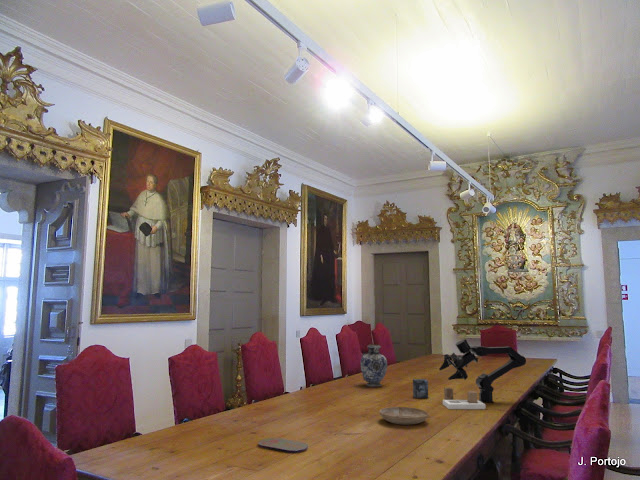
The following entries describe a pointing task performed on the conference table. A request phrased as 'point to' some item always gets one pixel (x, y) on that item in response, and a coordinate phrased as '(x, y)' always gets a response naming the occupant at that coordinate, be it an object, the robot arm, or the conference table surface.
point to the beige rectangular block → (448, 393)
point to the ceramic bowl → (404, 415)
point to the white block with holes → (465, 402)
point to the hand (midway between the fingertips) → (443, 374)
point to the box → (420, 388)
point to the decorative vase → (373, 366)
